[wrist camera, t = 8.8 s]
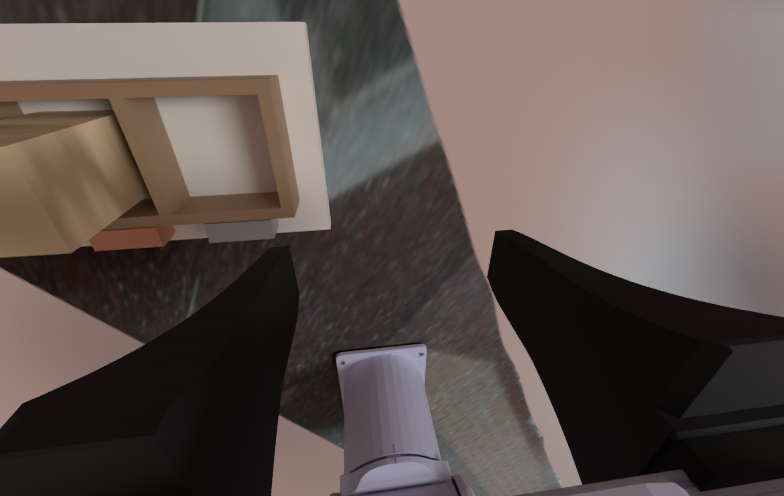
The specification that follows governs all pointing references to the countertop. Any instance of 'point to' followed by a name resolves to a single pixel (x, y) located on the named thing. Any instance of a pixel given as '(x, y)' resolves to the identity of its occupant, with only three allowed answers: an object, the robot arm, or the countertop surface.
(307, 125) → the socket board
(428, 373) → the countertop surface
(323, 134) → the countertop surface
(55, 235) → the maple peg
